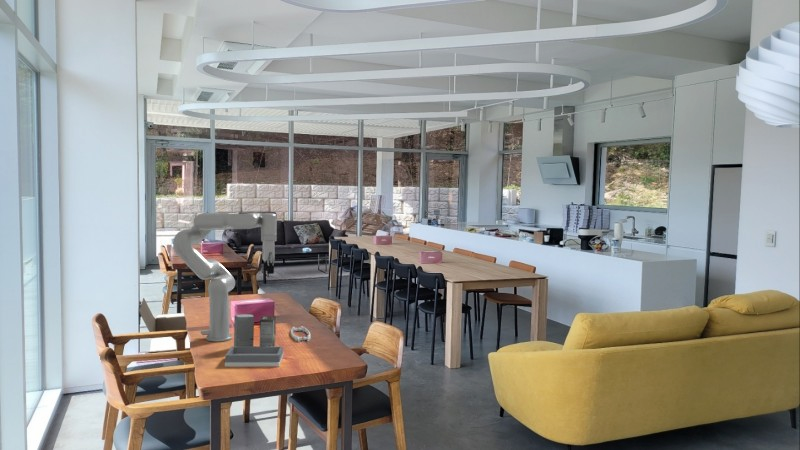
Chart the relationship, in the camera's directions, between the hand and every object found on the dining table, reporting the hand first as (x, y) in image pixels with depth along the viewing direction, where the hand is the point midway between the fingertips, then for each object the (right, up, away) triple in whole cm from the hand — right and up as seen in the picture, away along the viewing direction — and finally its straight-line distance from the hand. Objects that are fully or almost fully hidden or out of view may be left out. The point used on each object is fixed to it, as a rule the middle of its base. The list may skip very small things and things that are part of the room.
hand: (269, 272), depth 280 cm
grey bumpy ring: (+13, -35, +13) cm, 40 cm away
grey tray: (+1, -37, -30) cm, 48 cm away
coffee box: (+3, -36, -16) cm, 40 cm away
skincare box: (-10, -36, -11) cm, 38 cm away
